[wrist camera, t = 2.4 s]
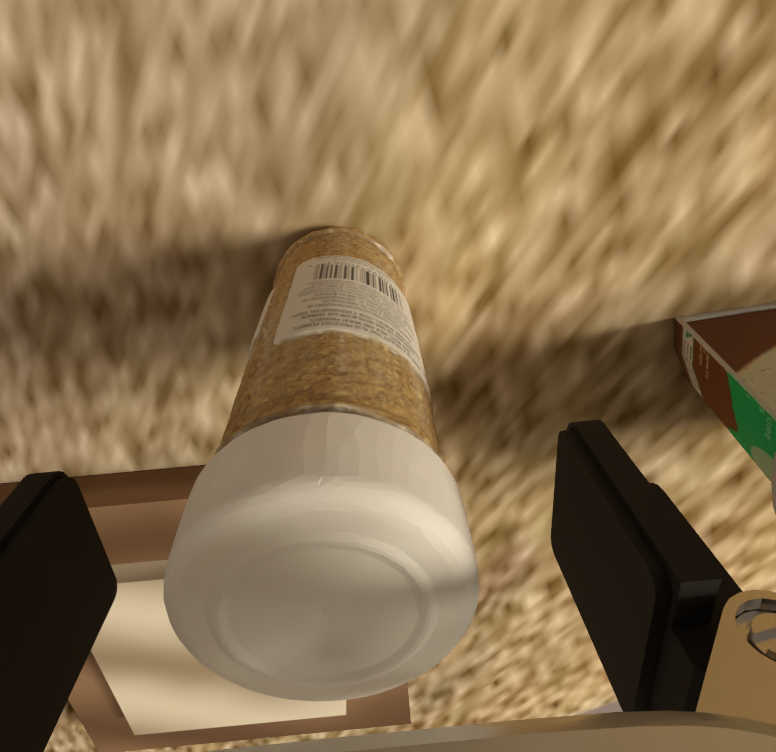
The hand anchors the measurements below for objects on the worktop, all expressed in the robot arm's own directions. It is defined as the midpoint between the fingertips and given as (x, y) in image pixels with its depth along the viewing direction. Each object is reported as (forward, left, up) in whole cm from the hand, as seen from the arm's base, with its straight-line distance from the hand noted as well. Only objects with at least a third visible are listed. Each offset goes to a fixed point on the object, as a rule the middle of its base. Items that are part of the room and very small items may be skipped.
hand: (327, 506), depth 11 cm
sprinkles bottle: (-1, 0, -10) cm, 10 cm away
